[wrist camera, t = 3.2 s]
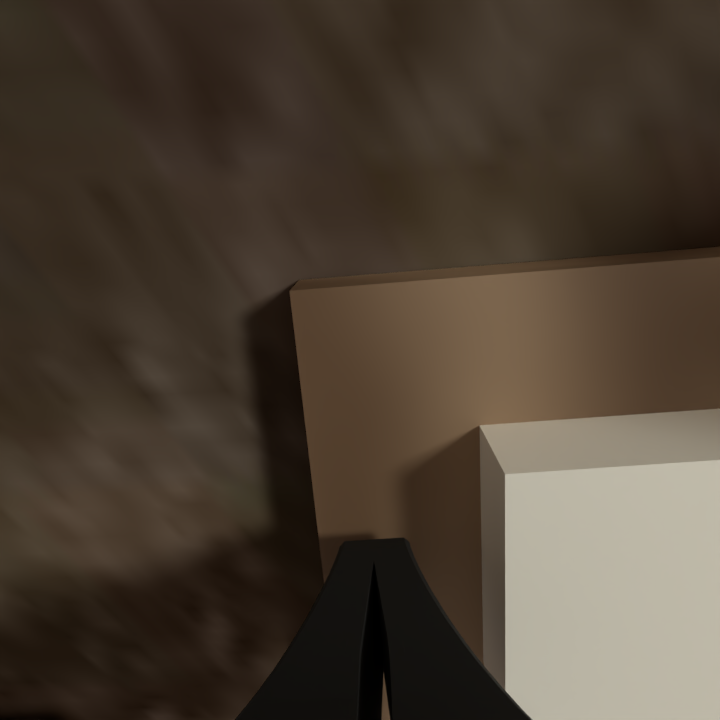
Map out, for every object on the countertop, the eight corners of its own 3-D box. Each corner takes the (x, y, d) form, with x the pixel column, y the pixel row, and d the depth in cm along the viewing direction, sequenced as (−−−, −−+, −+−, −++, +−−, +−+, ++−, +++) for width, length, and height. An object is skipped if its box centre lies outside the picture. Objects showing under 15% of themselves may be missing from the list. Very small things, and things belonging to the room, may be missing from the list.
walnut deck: (347, 709, 15) (345, 764, 13) (298, 279, 11) (289, 291, 10) (785, 685, 14) (833, 739, 13) (872, 234, 11) (950, 238, 9)
